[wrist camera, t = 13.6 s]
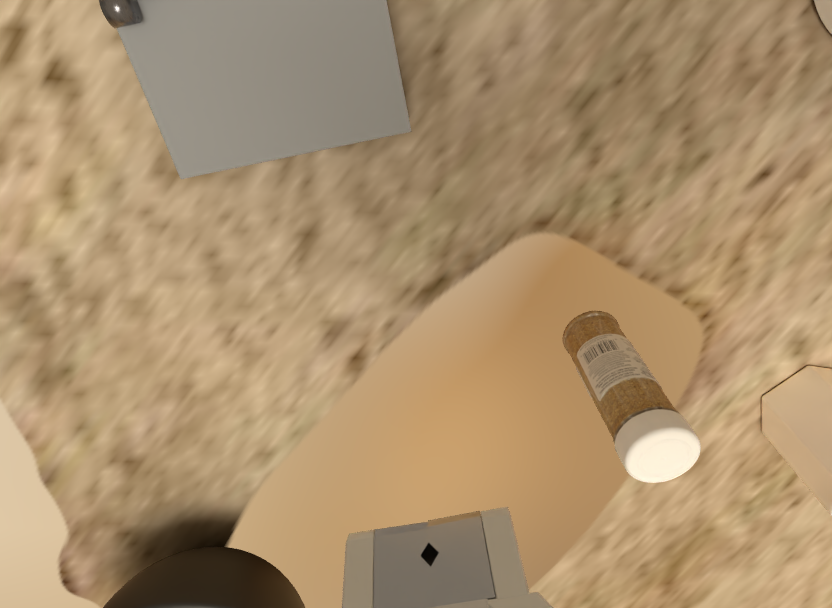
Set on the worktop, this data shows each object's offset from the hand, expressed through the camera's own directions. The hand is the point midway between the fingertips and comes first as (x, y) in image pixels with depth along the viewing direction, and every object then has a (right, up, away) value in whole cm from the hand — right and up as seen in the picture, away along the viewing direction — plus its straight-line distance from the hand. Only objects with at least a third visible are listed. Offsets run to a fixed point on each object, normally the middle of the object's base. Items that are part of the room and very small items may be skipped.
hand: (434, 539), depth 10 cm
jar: (+34, -4, +39) cm, 52 cm away
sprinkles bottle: (+14, +2, +34) cm, 36 cm away
